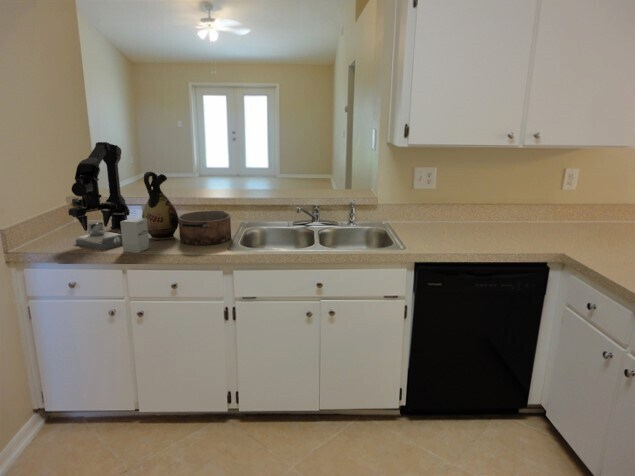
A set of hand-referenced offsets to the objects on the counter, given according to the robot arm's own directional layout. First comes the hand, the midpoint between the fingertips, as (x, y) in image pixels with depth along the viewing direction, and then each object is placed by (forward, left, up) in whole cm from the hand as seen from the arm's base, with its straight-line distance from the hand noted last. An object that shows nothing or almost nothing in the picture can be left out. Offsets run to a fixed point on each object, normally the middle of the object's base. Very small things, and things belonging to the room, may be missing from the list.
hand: (96, 228), depth 180 cm
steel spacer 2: (0, 0, -3) cm, 3 cm away
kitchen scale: (0, +4, -6) cm, 7 cm away
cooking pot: (-27, +37, -6) cm, 46 cm away
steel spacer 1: (-6, -10, -6) cm, 13 cm away
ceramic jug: (-18, +18, -6) cm, 26 cm away
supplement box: (0, +24, -6) cm, 25 cm away
